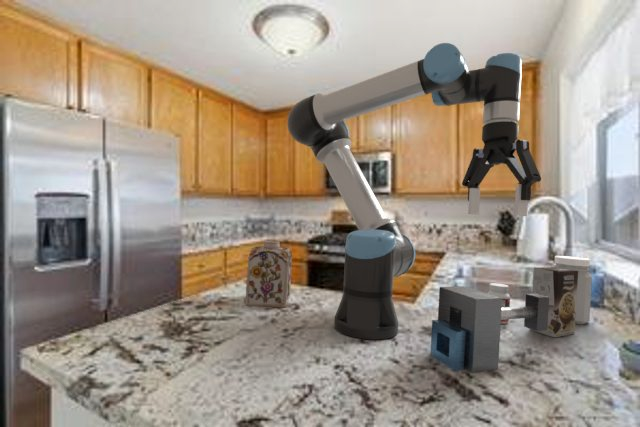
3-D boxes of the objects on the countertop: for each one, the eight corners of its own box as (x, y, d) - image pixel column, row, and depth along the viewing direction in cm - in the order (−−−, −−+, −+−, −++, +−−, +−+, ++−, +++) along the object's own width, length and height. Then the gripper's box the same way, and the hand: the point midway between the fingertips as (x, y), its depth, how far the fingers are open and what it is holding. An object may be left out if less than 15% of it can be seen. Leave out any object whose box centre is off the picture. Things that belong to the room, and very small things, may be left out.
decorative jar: (286, 308, 97) (289, 244, 97) (244, 306, 98) (247, 241, 97) (290, 298, 109) (293, 240, 109) (253, 295, 109) (256, 238, 109)
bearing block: (472, 372, 63) (476, 299, 63) (436, 350, 72) (439, 286, 72) (498, 369, 65) (502, 298, 65) (459, 348, 74) (463, 286, 74)
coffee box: (555, 338, 84) (559, 271, 84) (528, 329, 90) (532, 266, 90) (576, 334, 88) (579, 270, 88) (549, 326, 94) (552, 266, 94)
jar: (552, 321, 98) (556, 257, 98) (545, 312, 107) (548, 254, 107) (595, 327, 95) (598, 261, 94) (583, 318, 104) (586, 257, 104)
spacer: (454, 370, 63) (456, 332, 63) (430, 355, 70) (432, 320, 70) (463, 369, 64) (465, 331, 64) (438, 354, 70) (440, 319, 70)
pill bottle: (511, 325, 93) (513, 287, 93) (488, 322, 94) (490, 285, 94) (504, 319, 98) (506, 283, 98) (483, 316, 99) (485, 281, 99)
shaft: (471, 336, 67) (473, 300, 67) (460, 331, 70) (462, 296, 70) (547, 330, 73) (549, 297, 73) (534, 325, 76) (536, 293, 76)
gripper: (564, 113, 71) (558, 217, 71) (473, 136, 95) (469, 214, 95) (537, 107, 69) (531, 215, 69) (450, 132, 92) (446, 213, 92)
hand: (495, 215), depth 82 cm, fingers open, 13 cm apart
